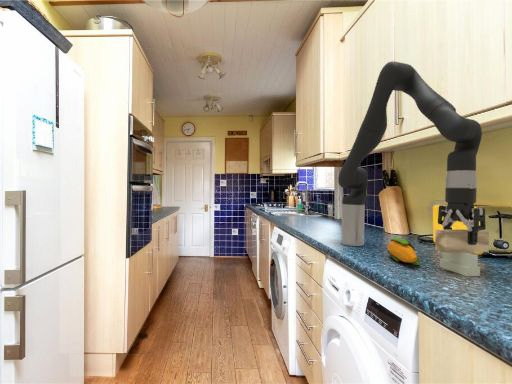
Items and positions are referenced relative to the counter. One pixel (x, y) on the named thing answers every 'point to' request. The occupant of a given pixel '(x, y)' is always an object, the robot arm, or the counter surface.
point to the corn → (402, 251)
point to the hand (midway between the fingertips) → (459, 242)
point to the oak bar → (460, 241)
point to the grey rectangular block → (461, 263)
